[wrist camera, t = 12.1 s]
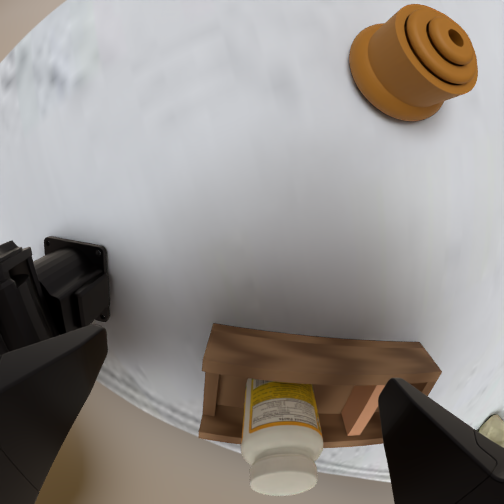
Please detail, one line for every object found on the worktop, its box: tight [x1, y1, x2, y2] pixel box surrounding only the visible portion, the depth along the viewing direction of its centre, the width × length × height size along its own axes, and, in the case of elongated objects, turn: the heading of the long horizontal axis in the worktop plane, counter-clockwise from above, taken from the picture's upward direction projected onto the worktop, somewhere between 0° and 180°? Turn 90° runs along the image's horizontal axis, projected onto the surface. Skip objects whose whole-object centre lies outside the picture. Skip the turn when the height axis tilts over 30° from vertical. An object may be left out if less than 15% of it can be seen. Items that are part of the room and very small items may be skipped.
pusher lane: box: [199, 323, 442, 448], centre depth 20 cm, size 18×9×4 cm, turn 82°
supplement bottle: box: [241, 378, 323, 496], centre depth 16 cm, size 5×5×10 cm
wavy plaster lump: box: [479, 415, 504, 448], centre depth 22 cm, size 18×13×16 cm
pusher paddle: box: [341, 385, 385, 436], centre depth 20 cm, size 1×6×3 cm, turn 172°
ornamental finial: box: [349, 4, 478, 121], centre depth 11 cm, size 8×8×8 cm
